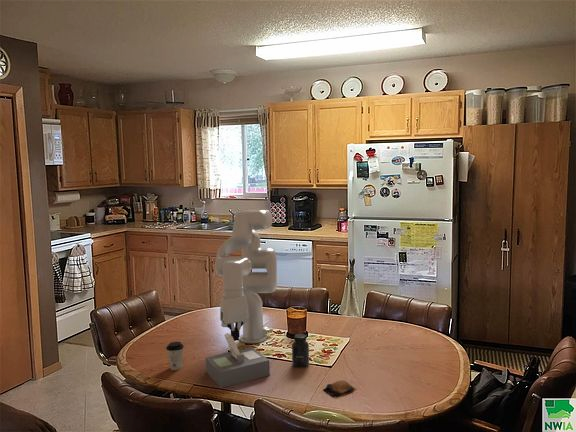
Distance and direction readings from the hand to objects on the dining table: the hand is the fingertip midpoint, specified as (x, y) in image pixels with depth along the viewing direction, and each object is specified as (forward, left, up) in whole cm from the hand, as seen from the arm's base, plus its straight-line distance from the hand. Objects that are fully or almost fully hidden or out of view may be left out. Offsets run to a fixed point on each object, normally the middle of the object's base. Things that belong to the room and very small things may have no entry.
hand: (235, 339), depth 187 cm
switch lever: (-1, -1, -8) cm, 8 cm away
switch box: (-1, -1, -14) cm, 14 cm away
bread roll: (-26, +32, -15) cm, 44 cm away
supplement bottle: (-26, +5, -14) cm, 30 cm away
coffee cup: (+18, -20, -14) cm, 31 cm away
